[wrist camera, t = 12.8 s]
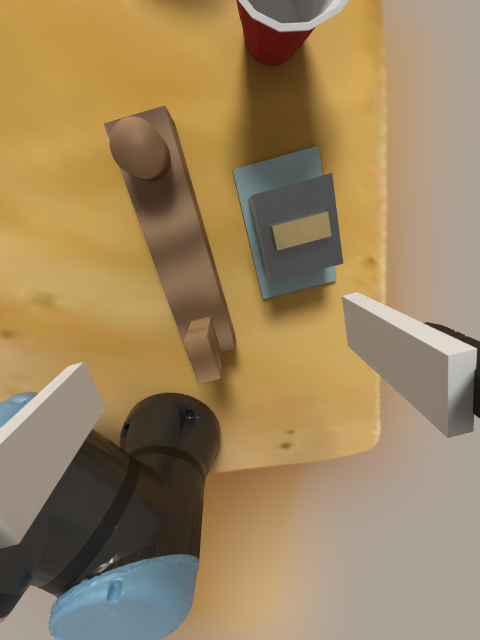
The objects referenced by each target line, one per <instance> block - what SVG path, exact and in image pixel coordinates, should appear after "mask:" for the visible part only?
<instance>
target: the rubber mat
mask: <svg viewBox="0 0 480 640" xmlns="http://www.w3.org/2000/svg"><path fill="white" fill-rule="evenodd" d="M233 174H234V178H235V182H236V187H237V191H238V195H239V199H240V204H241V208H242V212H243V216H244V221H245V225H246V229H247V233H248V238H249V242H250V246H251V250H252V255H253V259H254V263H255V267H256V271H257V276H258V280H259V284H260V288H261V293H262V297H263V300H264V299H267V298H271V297H275V296H279V295H283V294H287V293H291V292H295V291H299V290H302V289H306V288H310V287H314V286H318V285H322V284H326V283H330V282H333V281H337V280H336V273H335V266H332V267H328V268H324V269H320V270H316V271H313V272H309V273H305V274H301V275H297V276H293V277H290V278H286V279H282V280H278V281H274V282H271V281H270V280H269V278H268V277H267V275H266V274H265V273H264V268H263V264H262V259H261V255H260V251H259V246H258V242H257V237H256V233H255V228H254V224H253V219H252V215H251V211H250V206H249V202H248V199H249V198H250V197H251V196H252V195H254V194H258V193H261V192H265V191H269V190H272V189H276V188H279V187H283V186H287V185H290V184H294V183H298V182H301V181H305V180H308V179H312V178H316V177H319V176H322V169H321V162H320V155H319V147H318V146H315V147H311V148H307V149H304V150H300V151H297V152H293V153H290V154H286V155H283V156H279V157H276V158H272V159H268V160H265V161H261V162H258V163H254V164H251V165H247V166H244V167H240V168H237V169H233Z"/></svg>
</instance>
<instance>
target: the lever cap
mask: <svg viewBox="0 0 480 640" xmlns="http://www.w3.org/2000/svg"><path fill="white" fill-rule="evenodd" d="M248 202H249V206H250V211H251V215H252V219H253V224H254V228H255V233H256V237H257V242H258V246H259V251H260V255H261V259H262V264H263V268H264V273H265V274H266V275H267V277H268V278H269V280H270V281H271V282H274V281H278V280H282V279H286V278H290V277H293V276H297V275H301V274H305V273H309V272H313V271H316V270H320V269H324V268H328V267H332V266H336V265H339V264H343V258H342V250H341V242H340V234H339V225H338V217H337V209H336V201H335V193H334V185H333V177H332V173H330V174H326V175H323V176H319V177H316V178H312V179H308V180H305V181H301V182H298V183H294V184H290V185H287V186H283V187H279V188H276V189H272V190H269V191H265V192H261V193H258V194H254V195H252V196H251V197H250V198H249V199H248Z"/></svg>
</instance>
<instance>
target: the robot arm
mask: <svg viewBox="0 0 480 640" xmlns="http://www.w3.org/2000/svg"><path fill="white" fill-rule="evenodd" d="M342 300H343V308H344V316H345V324H346V332H347V340H348V346H349V347H350V348H351V349H352V350H353V351H354V352H355V353H356V354H357V355H358V356H359V357H361V358H362V359H363V360H364V361H365V362H366V363H367V364H368V365H369V366H370V367H371V368H373V369H374V370H375V371H376V372H377V373H378V374H379V375H380V376H381V377H382V378H383V379H384V380H386V381H387V382H388V383H389V384H390V385H391V386H392V387H393V388H394V389H396V391H397V392H399V393H400V394H401V395H402V396H403V397H404V398H405V399H406V400H407V401H408V402H409V403H410V404H412V405H413V406H414V407H415V408H416V409H417V410H418V411H419V412H420V413H421V414H422V415H423V416H425V417H426V418H427V419H428V420H429V421H430V422H431V423H432V424H433V425H434V426H436V427H437V428H438V429H439V430H440V431H441V432H442V433H443V434H444V435H445V436H446V437H448V438H449V437H453V436H457V435H461V434H465V433H469V432H473V425H474V424H473V423H474V414H475V415H476V416H477V417H479V418H480V342H479V341H477V340H475V339H472V338H470V337H468V336H467V337H466V336H465V335H464V334H461V333H459V332H455V331H454V330H452V329H450V328H448V327H445V326H442V325H438V324H433V323H429V322H426V323H422V322H419V321H417V320H415V319H413V318H411V317H409V316H407V315H405V314H402V313H400V312H398V311H396V310H393V309H392V308H390V307H387V306H385V305H383V304H381V303H379V302H377V301H375V300H373V299H370V298H368V297H366V296H364V295H362V294H360V293H358V292H356V293H353V294H349V295H345V296H342ZM105 408H106V407H105V405H104V403H103V401H102V399H101V397H100V395H99V393H98V390H97V388H96V386H95V384H94V382H93V380H92V378H91V376H90V374H89V372H88V370H87V368H86V366H85V364H84V362H82V363H78V364H74V365H70V366H68V367H67V368H66V369H65V370H64V371H63V372H62V373H60V374H59V375H58V376H57V377H56V378H55V379H54V380H53V381H52V382H51V383H49V384H48V385H47V386H46V387H45V388H44V389H43V390H42V391H41V392H40V393H36V392H24V393H20V394H17V395H15V396H12V397H10V398H8V399H7V400H5V401H3V402H1V403H0V622H2V621H4V620H5V619H6V617H7V616H8V615H9V614H10V612H11V611H12V609H13V608H14V607H15V605H16V604H17V602H18V601H19V600H20V598H21V597H22V595H23V594H24V592H25V591H26V590H27V588H28V587H29V586H30V585H33V586H36V587H38V588H41V589H43V590H45V591H47V592H49V593H51V594H54V595H55V596H56V597H57V598H58V599H57V600H56V602H55V603H54V604H53V606H52V608H51V612H50V613H51V616H50V621H49V631H50V633H51V635H52V636H54V637H55V640H161V639H163V638H165V637H166V636H168V635H170V634H171V633H172V632H174V631H175V630H176V629H177V628H178V627H179V626H180V625H181V624H182V623H183V622H184V620H185V619H186V617H187V615H188V613H189V611H190V609H191V606H192V602H193V596H194V590H195V582H196V575H197V571H198V569H199V554H200V539H201V526H202V511H203V498H204V485H205V478H206V476H207V474H208V472H209V470H210V468H211V465H212V463H213V461H214V459H215V457H216V455H217V452H218V449H219V442H220V427H219V423H218V420H217V418H216V416H215V415H214V413H213V412H212V411H211V410H210V408H208V407H207V406H206V405H205V404H204V403H202V402H201V401H199V400H197V399H195V398H193V397H190V396H187V395H184V394H178V393H162V394H157V395H153V396H150V397H148V398H146V399H144V400H142V401H141V402H139V403H138V404H137V405H136V406H135V407H134V408H133V409H132V410H131V411H130V413H129V415H128V417H127V419H126V421H125V423H124V425H123V427H122V430H121V436H120V447H119V446H117V445H116V444H114V443H113V442H111V441H110V440H108V439H107V438H106V437H104V436H103V435H101V434H100V433H98V432H97V431H95V430H94V429H92V428H93V427H94V425H95V423H96V422H97V420H98V419H99V417H100V416H101V414H102V412H103V411H104V409H105Z"/></svg>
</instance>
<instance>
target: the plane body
mask: <svg viewBox="0 0 480 640" xmlns="http://www.w3.org/2000/svg"><path fill="white" fill-rule="evenodd" d="M104 125H105V128H106V131H107V134H108V136H109V139H110V149H111V153H112V156H113V158H114V160H115V161H116V163H117V164H118V165H119V167H120V170H121V172H122V175H123V178H124V181H125V183H126V186H127V189H128V192H129V194H130V197H131V200H132V203H133V205H134V208H135V211H136V214H137V216H138V219H139V222H140V225H141V228H142V230H143V233H144V236H145V239H146V241H147V244H148V247H149V250H150V252H151V255H152V258H153V261H154V263H155V266H156V269H157V272H158V274H159V277H160V280H161V283H162V286H163V288H164V291H165V294H166V297H167V299H168V302H169V305H170V308H171V310H172V313H173V316H174V319H175V321H176V324H177V327H178V330H179V332H180V335H181V338H182V341H183V344H184V346H185V349H186V352H187V355H188V357H189V360H190V361H191V364H192V367H193V370H194V372H195V375H196V378H197V381H198V383H199V384H201V383H205V382H209V381H213V380H217V379H221V361H222V353H223V352H227V351H231V350H235V349H236V345H235V332H234V329H233V325H232V322H231V318H230V315H229V311H228V308H227V304H226V301H225V297H224V294H223V290H222V287H221V283H220V280H219V277H218V273H217V270H216V266H215V263H214V259H213V256H212V252H211V249H210V245H209V242H208V238H207V235H206V231H205V228H204V224H203V221H202V217H201V214H200V210H199V207H198V203H197V200H196V196H195V193H194V189H193V186H192V182H191V179H190V175H189V172H188V168H187V165H186V161H185V158H184V154H183V151H182V147H181V144H180V140H179V137H178V133H177V130H176V126H175V123H174V121H173V119H172V117H171V116H170V114H169V112H168V110H167V108H166V107H165V106H161V107H158V108H155V109H151V110H148V111H145V112H141V113H138V114H135V115H131V116H128V117H125V118H121V119H118V120H114V121H111V122H108V123H104Z"/></svg>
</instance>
